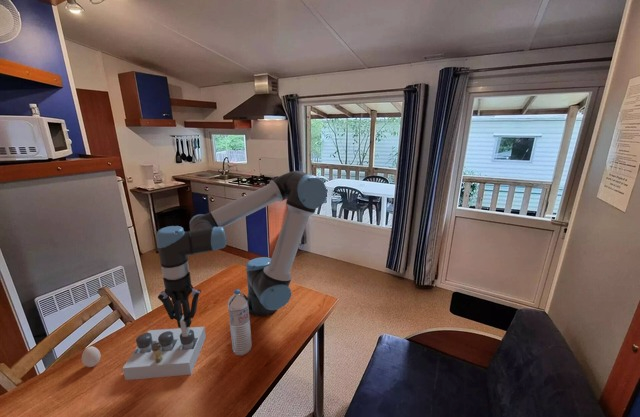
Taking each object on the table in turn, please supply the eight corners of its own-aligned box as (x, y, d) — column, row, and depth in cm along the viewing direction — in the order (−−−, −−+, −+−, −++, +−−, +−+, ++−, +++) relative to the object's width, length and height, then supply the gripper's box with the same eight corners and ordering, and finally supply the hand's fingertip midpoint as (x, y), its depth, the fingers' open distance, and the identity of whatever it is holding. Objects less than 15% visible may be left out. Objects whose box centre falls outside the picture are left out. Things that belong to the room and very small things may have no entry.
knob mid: (178, 347, 93) (174, 330, 91) (172, 357, 89) (169, 340, 87) (165, 348, 93) (161, 331, 91) (159, 358, 89) (155, 341, 86)
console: (205, 337, 100) (204, 326, 99) (191, 374, 85) (189, 362, 84) (150, 341, 98) (148, 330, 96) (125, 380, 83) (122, 368, 81)
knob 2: (198, 345, 94) (195, 329, 92) (193, 355, 90) (191, 338, 88) (185, 346, 94) (182, 329, 91) (180, 356, 89) (177, 339, 87)
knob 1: (157, 349, 93) (153, 332, 90) (151, 359, 88) (147, 342, 86) (144, 350, 92) (140, 333, 90) (137, 360, 88) (133, 343, 86)
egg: (85, 363, 88) (79, 346, 86) (103, 357, 91) (98, 340, 89) (83, 373, 85) (77, 356, 82) (102, 366, 87) (96, 349, 85)
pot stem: (165, 356, 86) (162, 341, 84) (161, 363, 83) (158, 348, 81) (156, 357, 85) (153, 342, 84) (152, 363, 83) (149, 349, 81)
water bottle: (234, 359, 91) (228, 299, 83) (231, 345, 97) (225, 287, 89) (253, 352, 94) (249, 293, 87) (249, 339, 100) (245, 282, 92)
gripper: (201, 267, 87) (209, 324, 94) (160, 268, 85) (171, 327, 92) (193, 279, 80) (202, 340, 87) (148, 281, 78) (161, 343, 85)
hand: (186, 333), depth 89 cm, fingers closed
